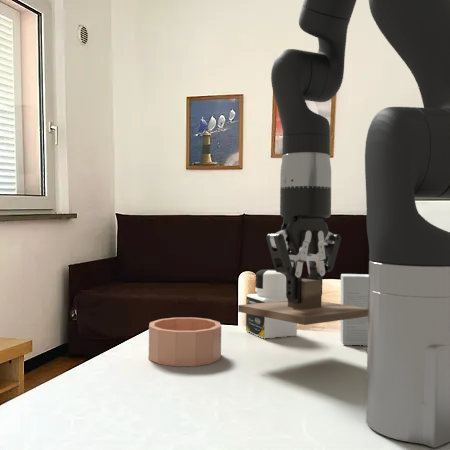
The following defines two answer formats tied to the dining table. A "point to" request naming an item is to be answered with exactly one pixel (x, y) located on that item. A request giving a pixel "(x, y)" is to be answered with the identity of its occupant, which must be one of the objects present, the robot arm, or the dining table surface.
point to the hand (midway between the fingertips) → (304, 301)
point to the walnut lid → (305, 307)
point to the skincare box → (356, 296)
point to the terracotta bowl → (184, 341)
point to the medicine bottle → (266, 292)
